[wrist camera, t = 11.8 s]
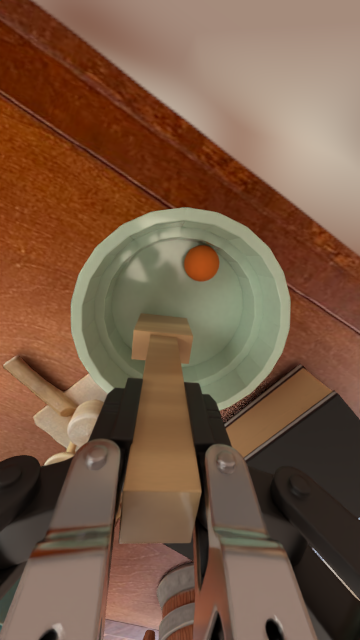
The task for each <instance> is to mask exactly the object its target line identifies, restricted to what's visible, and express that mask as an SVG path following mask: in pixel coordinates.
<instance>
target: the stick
mask: <svg viewBox="0 0 360 640" xmlns="http://www.w3.org/2000/svg"><path fill="white" fill-rule="evenodd" d="M192 342H193V334H192V331H191V329H190V326H189V323H188V321H187V318H181V317H172V316H163V315H154V314H145V313H141V314H140V316H139V318H138V321H137V323H136V326H135V328H134V330H133V343H132V356H131V359H136V360H146V361H145V367H144V373H143V378H142V379H143V384H142V390H141V395H140V401H139V407H138V413H137V419H136V425H135V431H134V437H133V442H132V444H131V446H130V452H129V457H128V463H127V468H126V474H125V480H124V485H123V493H122V505H121V518H120V531H119V543H120V544H129V543H190V542H191V539H192V534H193V529H194V525H195V520H196V516H197V511H198V507H199V502H200V497H201V493H202V489H201V483H200V477H199V470H198V464H197V458H196V452H195V447H194V443H193V437H192V431H191V424H190V418H189V412H188V406H187V399H186V393H185V387H184V378H183V372H182V366H181V363H183V364H189V361H190V354H191V348H192Z"/></svg>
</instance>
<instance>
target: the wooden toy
mask: <svg viewBox="0 0 360 640" xmlns="http://www.w3.org/2000/svg"><path fill="white" fill-rule="evenodd" d="M3 366H4V369H6V370H7V371H8V372H10V373H11V374H12V375H13V376H14V377H15V378H17V379H18V380H19V381H20V382H21V383H22V384H24V385H25V386H27V387H28V388H29V389H30V390H31V391H32V392H33V393H35V395H36V396H38V397H39V398H40V399H42V400H43V401H44V402H45V403H46V404H47V406H45V407H44V408H43V409H42V410H40V411H39V412H38V413H36V414H35V415H34V417H33V418H34V420H35V424H36V425H37V426H38V427H39V428H41V429H42V430H44V431H45V432H47V433H48V434H50V436H51V437H52V438H53V439H54V440H56V442H58V443H60V444H61V445H62V446H64V447H65V448H66V449H67V450H66V452H61V453H58V454H55V455H53V456H52V457H50V458H49V459H48V460H47V461H46V462H45V464H44V466H45V465H49V464H53V463H57V462H61V461H64V460H67V459H69V458H71V457H73V456H74V454H75V453H76V451H77V450H78V449H79V448H80V447H81V446H82V445H84V444H85V443H87V442H88V440H89V438H90V435H91V433H92V430H93V428H94V426H95V423H96V421H97V418H98V416H99V413H100V412H101V409H102V406H103V404H104V401H105V399H106V396H107V393H106V392H105V391H104V390H103V389H102V388H101V387H100V386H99V385H97V384H96V383H95V382H94V380H93V379H92V377H91V376H90V374H89V373H88V374H87V375H86V376H85V377H83V378H82V379H81V380H79V381H78V382H77V383H75V384H74V385H73V386H71V387H70V388H69V389H67V390H66V391H61V390H59V389H58V388H56V387H55V386H54V385H52V384H51V383H49V382H48V381H46V380H45V379H43V378H42V377H41V376H40V375H38V373H37V372H36V371H34V370H33V369H31V368H30V367H29V365H28V364H27V363H26V362H24V361H23V360H22V359H21V357H20V356H19V355H17V356H15V357H13V358H12V359H11V360H9V361H7V362H6V363H5V364H4V365H3ZM122 493H123V492H121V498H120V503H119V509H118V512H117V515H116V523H115V527H116V524H117V522H118V520H119V518H120V516H121V505H122Z"/></svg>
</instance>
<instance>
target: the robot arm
mask: <svg viewBox="0 0 360 640" xmlns="http://www.w3.org/2000/svg"><path fill="white" fill-rule="evenodd" d="M142 384H143V379H142V378H129V377H128V379H127V382H126V385H125V388H114V389H113V390H112V391H110V392H109V393H108V394H107V396H106V399H105V401H104V404H103V406H102V409H101V412H100V413H99V416H98V418H97V421H96V423H95V426H94V428H93V430H92V433H91V435H90V438H89V440H88V442H87V443H85V444H84V445H82V446H81V447H80V448H79V449H78V450H77V451H76V453H75V454H74V456H73V457H71V458H69V459H67V460H64V461H61V462H57V463H53V464H49V465H45V466H41V467H40V464H39V462H38V460H37V459H36V458H34V457H32V456H27V455H21V456H15V457H11V458H8V459H6V460H4V461H2V462H0V600H1V599H2V598H3V597H4V595H5V594H6V593H7V592H8V591H9V590H10V588H11V587H12V586H13V585H14V584H15V583H16V581H17V580H18V579H19V578H20V577H21V579H20V582H19V584H18V587H17V590H16V592H15V595H14V597H13V600H12V603H11V605H10V608H9V610H8V613H7V616H6V618H5V621H4V624H3V626H2V629H1V631H0V640H103V638H104V628H105V617H106V606H107V596H108V587H109V578H110V569H111V559H112V550H113V541H114V532H115V523H116V515H117V512H118V509H119V503H120V498H121V492H123V485H124V480H125V474H126V468H127V463H128V457H129V452H130V446H131V444H132V442H133V437H134V431H135V425H136V419H137V413H138V407H139V401H140V395H141V390H142ZM184 387H185V393H186V399H187V406H188V412H189V418H190V424H191V431H192V437H193V443H194V447H195V452H196V458H197V464H198V470H199V477H200V483H201V489H202V493H201V497H200V502H199V507H198V511H197V516H196V520H195V525H194V529H193V551H194V580H195V610H194V623H193V640H360V601H359V600H358V599H357V598H355V597H354V596H353V595H352V593H351V592H350V591H349V590H348V589H347V588H346V587H345V586H344V584H343V583H342V582H341V581H340V580H339V579H338V578H337V577H336V575H335V574H334V573H333V572H332V571H331V570H330V569H329V568H328V567H327V565H326V564H325V563H324V562H323V561H322V560H321V559H320V558H319V556H318V555H317V554H316V553H315V552H314V551H313V550H312V549H311V547H310V546H309V545H308V544H309V543H310V545H311V546H312V547H313V548H314V549H315V550H316V551H317V552H318V553H319V555H320V556H321V557H322V558H323V559H324V560H325V561H326V562H327V563H328V565H330V567H331V568H332V569H333V570H334V571H335V572H336V573H337V575H338V576H339V577H340V578H341V579H342V580H343V581H344V582H345V583H346V585H347V586H348V587H349V588H350V589H351V590H352V591H353V592H354V593H355V595H356V596H357V597H358V598H359V599H360V520H359V519H358V518H357V517H355V516H354V515H353V514H352V513H351V512H350V511H349V510H347V509H346V508H345V507H344V506H343V505H342V504H341V503H339V502H338V501H337V500H336V499H335V498H334V497H332V496H331V495H330V494H329V493H328V492H327V491H326V490H324V489H323V488H322V487H321V486H320V485H319V484H317V483H316V482H315V481H314V480H313V479H312V478H311V477H309V476H308V475H307V474H305V473H304V472H302V471H301V470H299V469H297V468H294V467H291V466H280V467H279V468H277V469H276V471H275V473H274V475H273V474H270V473H267V472H264V471H261V470H258V469H256V468H253V467H251V466H249V465H248V464H247V463H246V461H245V459H244V458H243V456H242V455H241V454H240V453H239V452H238V451H237V450H236V449H234V448H232V445H231V442H230V439H229V437H228V434H227V431H226V428H225V425H224V423H223V420H222V418H221V414H220V412H219V409H218V406H217V403H216V401H215V400H214V399H213V398H212V397H211V396H210V395H209V394H202V391H201V387H200V384H199V383H193V382H184ZM21 575H22V576H21Z"/></svg>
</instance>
